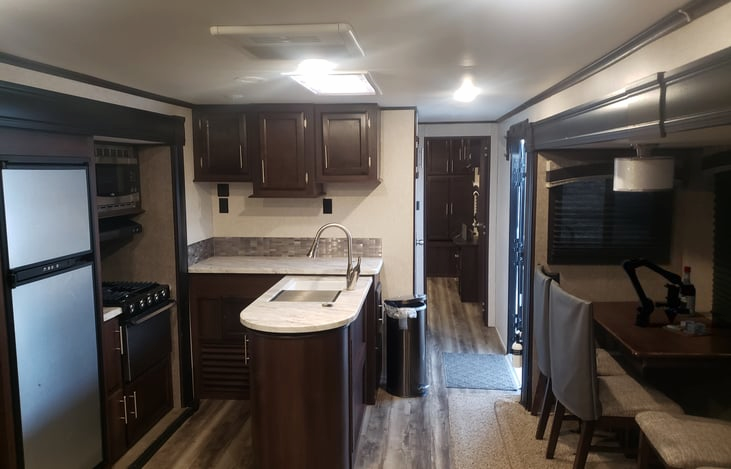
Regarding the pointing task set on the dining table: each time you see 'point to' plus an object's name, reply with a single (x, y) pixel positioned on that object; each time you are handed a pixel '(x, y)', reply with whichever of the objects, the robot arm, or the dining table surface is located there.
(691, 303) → the liquor
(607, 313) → the dining table surface
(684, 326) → the push plate
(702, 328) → the gauge base
